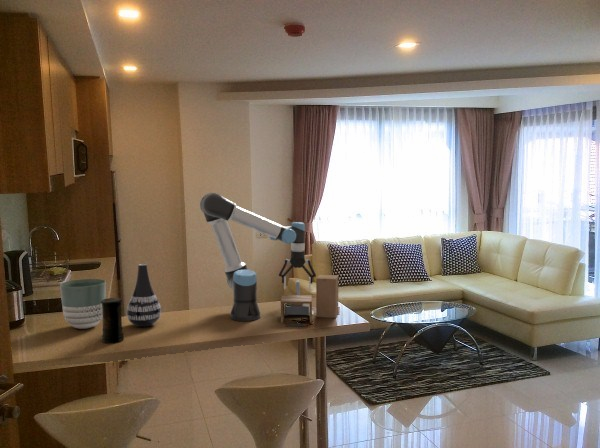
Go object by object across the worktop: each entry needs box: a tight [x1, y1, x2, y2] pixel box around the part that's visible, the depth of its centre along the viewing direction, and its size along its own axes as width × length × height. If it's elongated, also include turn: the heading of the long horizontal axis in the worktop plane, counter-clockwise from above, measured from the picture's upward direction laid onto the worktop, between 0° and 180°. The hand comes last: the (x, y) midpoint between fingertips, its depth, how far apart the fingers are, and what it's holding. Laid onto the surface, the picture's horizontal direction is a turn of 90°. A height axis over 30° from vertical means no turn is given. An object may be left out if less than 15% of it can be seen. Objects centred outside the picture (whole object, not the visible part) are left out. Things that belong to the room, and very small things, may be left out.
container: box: [101, 297, 124, 345], centre depth 223 cm, size 9×9×18 cm
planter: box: [59, 278, 107, 330], centre depth 244 cm, size 20×20×21 cm
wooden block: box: [315, 274, 339, 319], centre depth 263 cm, size 10×10×20 cm
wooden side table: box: [280, 294, 313, 324], centre depth 257 cm, size 14×15×10 cm
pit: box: [285, 322, 308, 328], centre depth 246 cm, size 5×10×1 cm, turn 89°
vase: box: [126, 263, 162, 329], centre depth 246 cm, size 16×16×30 cm
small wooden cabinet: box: [284, 279, 310, 317], centre depth 274 cm, size 23×12×14 cm, turn 179°
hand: (297, 289), depth 282 cm, fingers open, 13 cm apart
